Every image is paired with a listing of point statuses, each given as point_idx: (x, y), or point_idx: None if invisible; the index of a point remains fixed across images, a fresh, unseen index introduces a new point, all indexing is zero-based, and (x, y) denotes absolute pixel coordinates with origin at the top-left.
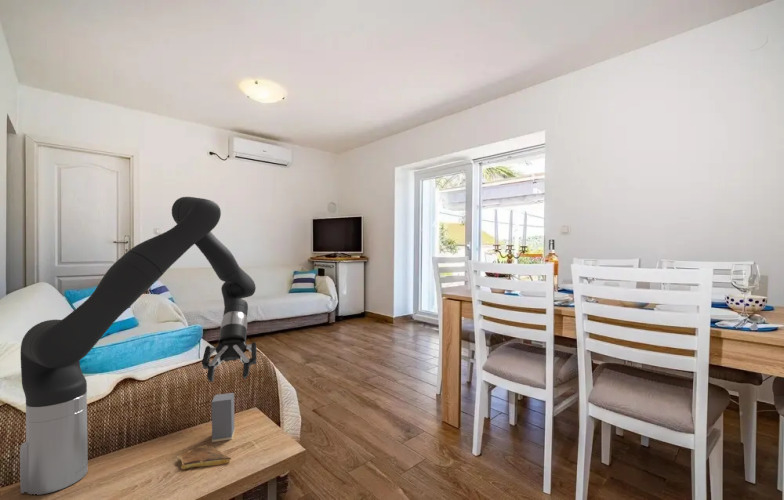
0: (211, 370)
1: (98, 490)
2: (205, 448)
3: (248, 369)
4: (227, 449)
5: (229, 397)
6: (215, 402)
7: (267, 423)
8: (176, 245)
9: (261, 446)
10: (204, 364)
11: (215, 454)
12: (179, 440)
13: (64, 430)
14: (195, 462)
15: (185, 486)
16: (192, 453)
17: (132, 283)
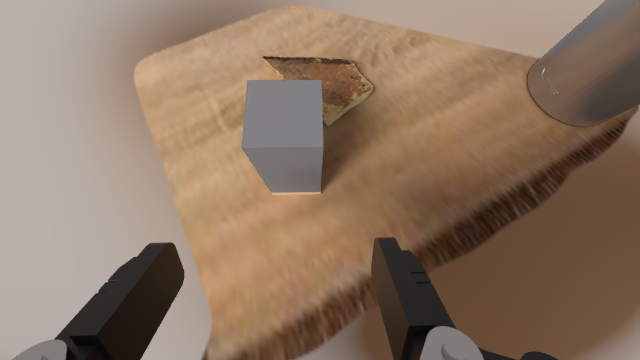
0: (407, 285)
1: (469, 48)
2: (322, 100)
3: (101, 289)
4: None
5: (256, 101)
6: (307, 82)
7: (182, 210)
8: None
9: (205, 101)
10: (528, 356)
11: (295, 74)
12: (404, 180)
13: None
14: (329, 59)
15: (329, 23)
16: (344, 85)
17: None
